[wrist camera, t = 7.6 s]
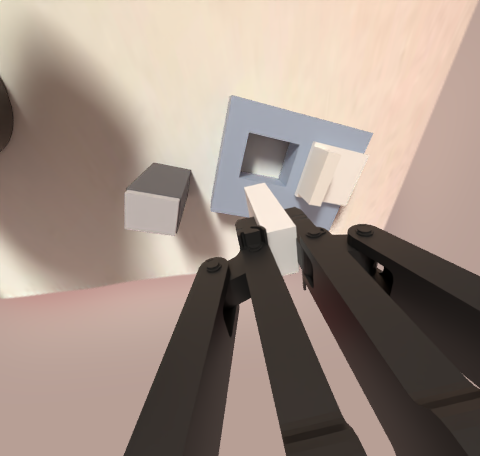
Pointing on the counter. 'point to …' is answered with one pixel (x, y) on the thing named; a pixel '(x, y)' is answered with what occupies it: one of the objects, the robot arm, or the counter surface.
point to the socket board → (301, 138)
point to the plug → (157, 200)
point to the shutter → (330, 174)
